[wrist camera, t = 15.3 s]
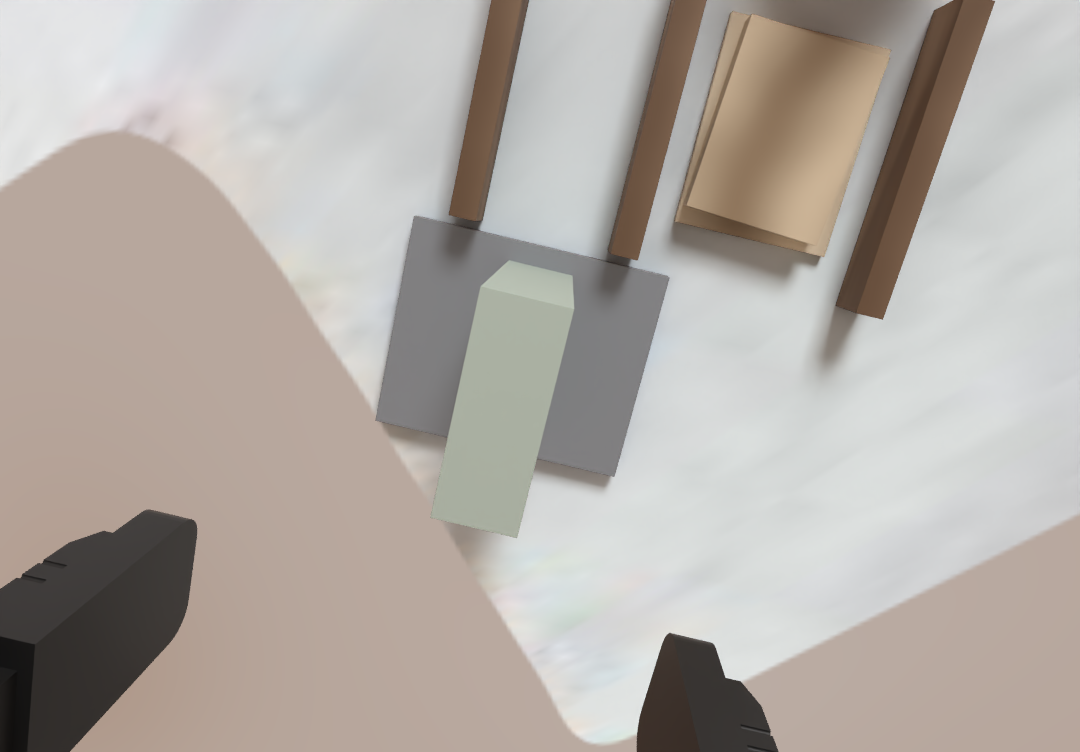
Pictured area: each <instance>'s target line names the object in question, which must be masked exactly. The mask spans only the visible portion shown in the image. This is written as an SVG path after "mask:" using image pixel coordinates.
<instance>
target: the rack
mask: <svg viewBox="0 0 1080 752" xmlns="http://www.w3.org/2000/svg"><path fill="white" fill-rule="evenodd" d="M706 1H707V0H671V4H670V7H669V11H668V15H667V19H666V23H665V27H664V31H663V35H662V39H661V43H660V47H659V51H658V55H657V59H656V63H655V66H654V70H653V74H652V78H651V82H650V86H649V90H648V94H647V98H646V102H645V106H644V110H643V114H642V118H641V122H640V126H639V129H638V133H637V137H636V141H635V145H634V149H633V153H632V157H631V161H630V165H629V169H628V173H627V177H626V181H625V185H624V188H623V192H622V196H621V200H620V204H619V208H618V212H617V216H616V220H615V224H614V228H613V232H612V236H611V240H610V244H609V248H608V251H609V252H610V254H613V255H617V256H621V257H626V258H630V259H634V260H638V257H639V254H640V250H641V246H642V242H643V239H644V235H645V231H646V227H647V223H648V220H649V216H650V212H651V208H652V205H653V201H654V197H655V193H656V189H657V186H658V182H659V178H660V174H661V171H662V167H663V163H664V159H665V155H666V152H667V148H668V144H669V140H670V137H671V133H672V129H673V125H674V122H675V118H676V114H677V110H678V106H679V103H680V99H681V95H682V91H683V88H684V84H685V80H686V76H687V72H688V69H689V65H690V61H691V57H692V54H693V50H694V46H695V42H696V38H697V35H698V31H699V27H700V23H701V20H702V16H703V12H704V8H705V4H706ZM528 2H529V0H491V5H490V10H489V15H488V20H487V25H486V30H485V35H484V40H483V45H482V50H481V55H480V60H479V65H478V70H477V75H476V80H475V85H474V90H473V95H472V100H471V105H470V110H469V115H468V120H467V125H466V131H465V136H464V141H463V146H462V151H461V156H460V161H459V166H458V171H457V176H456V181H455V186H454V191H453V196H452V201H451V206H450V211H449V215H451V216H455V217H459V218H464V219H468V220H472V221H481V220H483V216H484V211H485V206H486V201H487V197H488V192H489V187H490V182H491V178H492V173H493V168H494V163H495V159H496V154H497V149H498V144H499V140H500V135H501V130H502V126H503V121H504V116H505V111H506V107H507V102H508V97H509V92H510V88H511V83H512V78H513V73H514V69H515V64H516V59H517V54H518V50H519V45H520V40H521V35H522V31H523V26H524V21H525V16H526V12H527V7H528ZM994 3H995V1H992V0H953V1H951V2H949V3H948V4H946V5H944V6H942V7H940V8H938V9H936V10H934V13H933V16H932V19H931V22H930V25H929V28H928V31H927V34H926V37H925V40H924V43H923V46H922V49H921V52H920V55H919V58H918V61H917V64H916V67H915V70H914V73H913V75H912V78H911V81H910V84H909V87H908V90H907V93H906V96H905V99H904V102H903V105H902V108H901V111H900V114H899V117H898V120H897V123H896V126H895V129H894V132H893V135H892V138H891V141H890V144H889V147H888V150H887V153H886V156H885V159H884V162H883V165H882V168H881V171H880V174H879V177H878V180H877V183H876V186H875V189H874V192H873V195H872V198H871V201H870V204H869V207H868V210H867V213H866V216H865V219H864V222H863V225H862V228H861V231H860V234H859V237H858V240H857V243H856V246H855V249H854V252H853V255H852V258H851V261H850V264H849V267H848V270H847V273H846V276H845V279H844V281H843V284H842V287H841V290H840V293H839V296H838V299H837V302H836V306H839V307H841V308H844V309H847V310H849V311H852V312H855V313H858V314H862V315H866V316H870V317H875V318H879V319H883V318H884V315H885V312H886V309H887V306H888V303H889V301H890V298H891V295H892V292H893V289H894V286H895V284H896V281H897V278H898V275H899V272H900V269H901V266H902V264H903V261H904V258H905V255H906V252H907V249H908V247H909V244H910V241H911V238H912V235H913V232H914V230H915V227H916V224H917V221H918V218H919V215H920V213H921V210H922V207H923V204H924V201H925V198H926V196H927V193H928V190H929V187H930V184H931V181H932V179H933V176H934V173H935V170H936V167H937V164H938V162H939V159H940V156H941V153H942V150H943V147H944V144H945V142H946V139H947V136H948V133H949V130H950V127H951V125H952V122H953V119H954V116H955V113H956V110H957V108H958V105H959V102H960V99H961V96H962V93H963V91H964V88H965V85H966V82H967V79H968V76H969V74H970V71H971V68H972V65H973V62H974V59H975V57H976V54H977V51H978V48H979V45H980V42H981V40H982V37H983V34H984V31H985V28H986V25H987V22H988V20H989V17H990V14H991V11H992V8H993V5H994Z"/></svg>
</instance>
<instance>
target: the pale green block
mask: <svg viewBox="0 0 1080 752" xmlns="http://www.w3.org/2000/svg"><path fill="white" fill-rule="evenodd" d="M573 312H574V295H573V276H572V275H568V274H564V273H560V272H556V271H551V270H547V269H543V268H539V267H535V266H531V265H527V264H523V263H518V262H514V261H510V260H509V261H508V262H507V263H505V264H504V265H503V266H502V267H501V268H500V269H499V270H498V271H497V272H496V273H495V274H494V275H492V276H491V277H490V278H489V279H488V280H487V281H486V282H485V283H484V284H483V285H482V286H481V287H480V291H479V296H478V300H477V305H476V310H475V314H474V319H473V323H472V328H471V333H470V337H469V342H468V346H467V351H466V356H465V360H464V365H463V369H462V374H461V379H460V383H459V388H458V393H457V397H456V402H455V406H454V411H453V416H452V420H451V425H450V429H449V434H448V439H447V443H446V448H445V452H444V457H443V462H442V466H441V471H440V475H439V480H438V485H437V489H436V494H435V498H434V503H433V508H432V512H431V518H434V519H438V520H442V521H447V522H451V523H455V524H459V525H463V526H468V527H472V528H476V529H480V530H485V531H489V532H493V533H497V534H502V535H506V536H510V537H514V538H517V536H518V532H519V528H520V524H521V520H522V516H523V512H524V508H525V504H526V500H527V496H528V492H529V488H530V484H531V480H532V476H533V472H534V468H535V464H536V460H537V456H538V452H539V448H540V444H541V440H542V436H543V432H544V428H545V424H546V420H547V416H548V412H549V408H550V404H551V400H552V396H553V392H554V388H555V384H556V380H557V376H558V372H559V368H560V364H561V360H562V356H563V352H564V348H565V344H566V340H567V336H568V332H569V328H570V324H571V320H572V316H573Z"/></svg>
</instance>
